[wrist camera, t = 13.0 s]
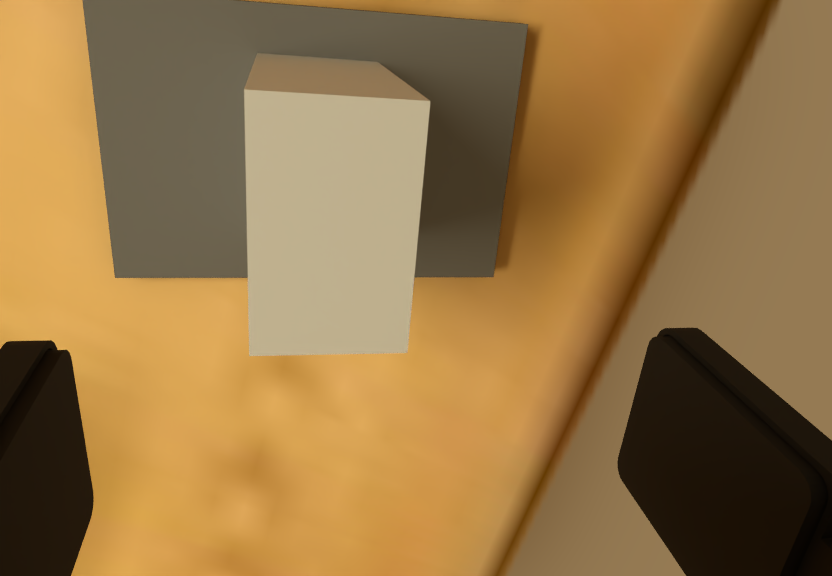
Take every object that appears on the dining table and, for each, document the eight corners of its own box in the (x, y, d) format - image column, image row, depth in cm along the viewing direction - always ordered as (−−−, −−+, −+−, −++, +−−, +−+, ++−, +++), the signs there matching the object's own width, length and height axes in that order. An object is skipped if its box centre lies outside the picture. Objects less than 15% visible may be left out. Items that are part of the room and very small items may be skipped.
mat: (88, -12, 26) (81, -12, 25) (520, 23, 29) (528, 24, 28) (119, 269, 30) (115, 277, 30) (487, 269, 34) (493, 277, 33)
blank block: (257, 53, 27) (243, 89, 17) (377, 61, 28) (430, 101, 18) (259, 236, 30) (249, 356, 20) (366, 238, 31) (407, 352, 21)
